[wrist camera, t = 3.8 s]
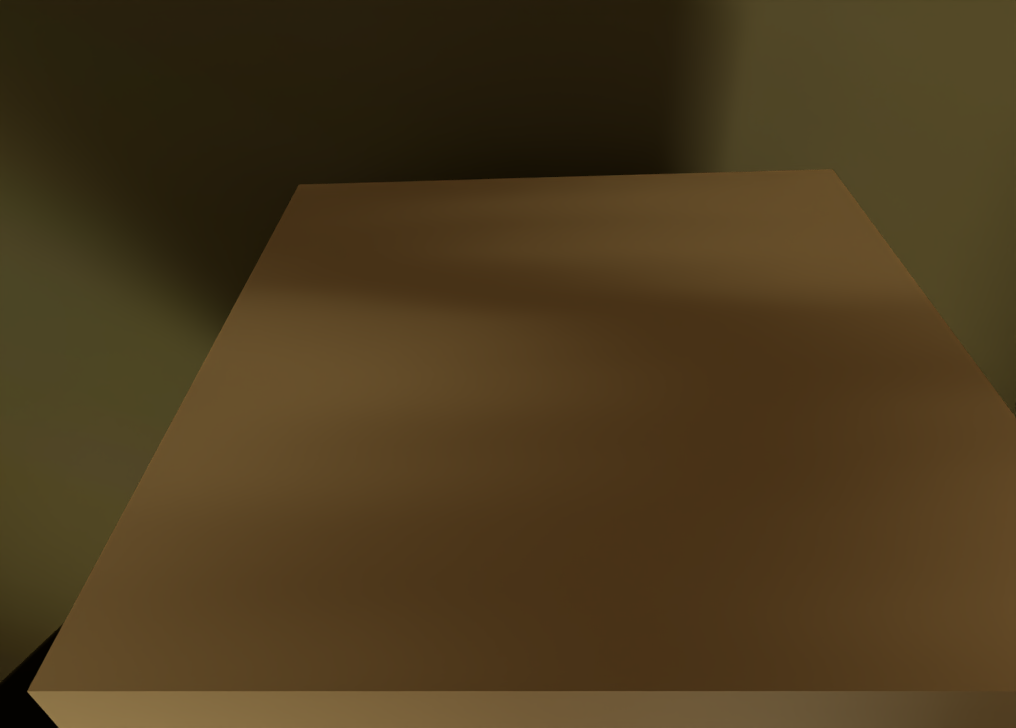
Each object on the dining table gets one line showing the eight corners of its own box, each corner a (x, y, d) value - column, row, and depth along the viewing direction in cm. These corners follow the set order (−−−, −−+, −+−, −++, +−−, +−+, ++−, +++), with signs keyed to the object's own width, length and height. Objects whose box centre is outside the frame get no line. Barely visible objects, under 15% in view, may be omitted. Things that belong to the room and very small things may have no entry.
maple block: (377, 523, 10) (286, 988, 6) (298, 184, 7) (27, 691, 3) (747, 519, 10) (884, 998, 6) (832, 169, 7) (1214, 691, 3)
